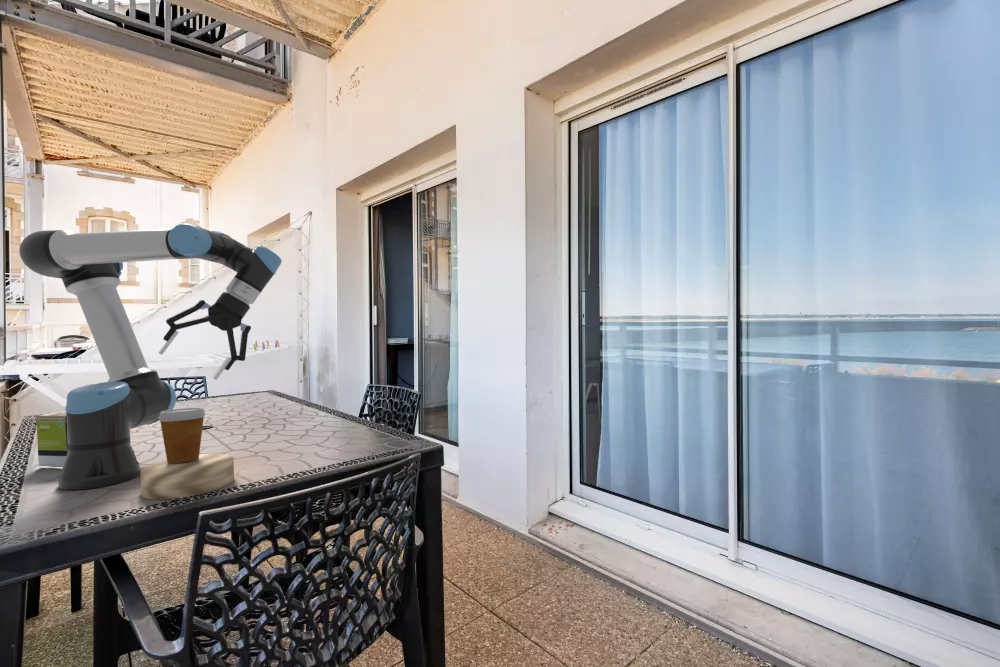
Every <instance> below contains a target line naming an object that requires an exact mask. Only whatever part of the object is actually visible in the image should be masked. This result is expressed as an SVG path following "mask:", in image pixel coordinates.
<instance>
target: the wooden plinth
mask: <svg viewBox="0 0 1000 667" xmlns="http://www.w3.org/2000/svg"><path fill="white" fill-rule="evenodd" d="M234 463H235V458H234V456H233V455H231V454H225V453H204V454H202V453H201V454H199V458H198V459H195V460H192V461H187V462H180V463H168V462H167V459H166V460H162V461H158V462H156V463H153V464H150V465H148V466H145V467H144V468H142V469H140V474H139V475H140V495H141V497H142V498H143V497H144V498H143V499H146V500H150V499H151V500H152V501H158V500H157V499H171V500H176V499H175V498H180V499H182V498H181V497H187V498H191V497H190V496H192V497H195V496H194V495H197V496H200V495H199V494H201V495H204V493H205V494H209V493H212V492H215V491H218V490H220V488H221V489H223V488H225V487H227V486H229V485H230V484H232V483H233V482H234V481H235V464H234ZM222 487H223V488H222ZM217 489H218V490H217ZM214 490H215V491H214ZM211 491H212V492H211ZM208 492H209V493H208Z"/></svg>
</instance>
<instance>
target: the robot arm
mask: <svg viewBox="0 0 1000 667" xmlns="http://www.w3.org/2000/svg"><path fill="white" fill-rule="evenodd" d="M18 250H19V252H18V253H19V257H20V259H21V261H22V263H23V264H24V265H25V266H26V267H27V268H28V269H29V270H31V271H32V272H34V273H36V274H39V275H41V276H45V277H47V278H55V279H60V280H62V283H63V285H64V288H65V290H66V292H67V293H69V294H72V295H74V296H76V298H77V301H78V302H79V305H80V308H81V310H82V312H83V315H84V318H85V321H86V323H87V325H88V327H89V330H90V333H91V335H92V337H93V340H94V342H95V345H96V347H97V350H98V352H99V355H100V358H101V360H102V363H103V364H104V367H105V369H106V372H107V374H108V375H107V376H108V378H109V379H108V380H107V381H105V382H98V383H91V384H86V385H82V386H80V387H75V388H74V389H72V390H70V391H69V392H68V393H67V394H66V403H65V404H66V405H65V407H64V408H65V410H66V420H67V443H68V454H67V457H66V459H65V462H64V465H63V468H62V469H61V472H60V474H59V476H58V481H57V482H58V485H57V486H58V488H59V489H60V490H65V491H66V490H69V491H76V490H77V491H78V490H87V489H94V488H100V487H101V488H102V487H106V486H111V485H115V484H119V483H122V482H123V483H124V482H125V481H130V480H131V479H134V478H136V477H137V476H139V475H141V474H140V472H141V466H140V462H139V461H138V460H137V456H136V454H135V450H134V449H133V447H132V443H131V430H132V429H135V428H138V427H143V426H146V425H152V424H155V423H157V422H158V421H159V419H158V417H159V416H160V412H162V411H167V410H174V409H175V406H176V403H177V395H176V391H175V388H174V387H173V385H171V384H170V383H168V382H167V381H165V380H162V379H161V378H160V376H159V374H158V371H157V369H153V368H151V367H149V366H148V365H147V362H146V358H145V357H144V355H143V352H142V349H141V347H140V344H139V342H138V339H137V337H136V333H135V332H134V328H133V327H132V324H131V322H130V320H129V316H128V315H127V312H126V309H125V307H124V304H123V301H122V299H121V297H120V295H119V292H118V290H117V288H118V286H119V285H120V283H121V279H120V277H121V275H122V271H123V269H124V263H136V262H149V261H150V262H151V261H166V260H170V261H171V260H187V259H189V260H191V259H200V260H203V261H208V262H211V263H216V264H221V265H222V266H224V267H227V268H228V269H230V270H232V271H234V272H236V274H235V275H234V276H233V278H232V279H231V280H230V282H228V285H227V286H226V287H225V290H226V291H223V292H222V293H221V294H220V296H218V297H217V299H216V301H215V302H214V303H213V304H212V305H210V304H209V303H207V302H206V301H205V299H200V300H199V301H197V303H196V304H195V305H192V306H191V307H189V308H187V309H185V310H182V311H181V312H179V313H177V314H174V315H173V316H171V317H169V318H166V320H165V323H166V324H167V325H168V326H169V329H168V331H167V332H166V334H164V336H163V340H164V341H166V342H165V343H164V345H163V346H162V347H161V349H160V350H159V351H158V354H159V355H161V356H162V355H163V354H164V353H165V352H166V351H167V349H168V347H170V345H171V344H172V343H173V341H174V340H175V338H176V337H177V336H178V335H179V333H180V332H179V331H178V330H181V329H184V328H189V327H192V326H196V325H200V324H203V323H207V322H209V324H210V325H211V326H213V327H216V328H218V329H219V330H221V331H224V332H226V334H227V339H228V340H227V342H228V347H229V352H230V356H228V355H227V356H226V358H225V359H224V360H223V361H222V363H221V365H220V366H219V367H218V369H217V371H216V372H215V373H214V374H213V376H212V378H213V380H215V381H217V380H218V379H219V378H220V377H221V375H222V373H223V372H224V370H226V371H229V370H230V369H231V368H232V366H233V365H234V363H235V362H237V361H240V362H241V361H242V362H244V361H246V355H247V354H246V353H247V345H248V337H249V333H250V331H251V329H252V327H251V325H249V324H245V323H243V322H242V321H243V319H244V317H245V316H246V314H248V311H249V310H250V309H251V306H250V305H253V304H254V303H255V302H256V300H257V298H259V296H260V294H261V293H262V291H263V290H264V289H265V288H266V286H267V285H268V283H269V282H270V281H271V279H272V278H273V276H274V275H276V272H277V271H278V270H279V268H280V266H281V265H282V258H281V257H280V256H279V255H278V254H276V253H275V252H274V251H272V250H271V249H269V248H267V247H265V246H263V245H260V244H259V245H257V246H256V247H255V248H254V249H252V248H250V247H249V246H246V245H245V244H244V243H241V242H239V241H238V240H236V239H234V238H232V237H231V236H230V235H228V234H225V233H223V232H221V231H219V230H215V229H214V230H212V231H211V230H208V229H206V228H203V227H201V226H199V225H195V224H190V223H179V224H177V225H175V226H174V227H172V228H157V229H139V230H138V229H136V230H134V229H133V230H120V231H119V230H117V231H102V232H101V231H98V232H82V233H81V232H79V233H78V232H77V233H74V232H73V231H71V230H68V229H67V230H66V229H58V230H57V229H56V230H54V229H53V230H38V231H35V232H32V233H30V234H28V235H26V236H25V237H24V238H23V240H22V241H21V243H20V245H19V249H18ZM205 309H207V312H208V314H207V315H206V316H202V317H198V318H193V319H191V320H186V321H182V322H179V323H175V322H177V321H179V320H181V319H183V318H185V317H187V316H189V315H191V314H194V313H195V312H197V311H199V310H205ZM238 327H240V331H241V335H240V344H239V346H240V347H239V354H237V353H238V352H237V346H236V341H235V335H234V329H236V328H238ZM65 410H64V411H65ZM159 422H160V421H159Z"/></svg>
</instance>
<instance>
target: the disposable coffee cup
mask: <svg viewBox="0 0 1000 667" xmlns="http://www.w3.org/2000/svg"><path fill="white" fill-rule="evenodd" d="M205 415H207V413H206V412H205V410H204V407H188V408H187V407H185V408H173V410H167V411H162V412H160V416H159V417H158V419H159V422H160V428H161V434H162V438H163V439H162V440H163V444H164V451H165V456H166V460H167V462H168V463H180V462H187V461H192V460H195V459H198V458H199V455H200V450H201V444H202V435H203V433H202V432H203V427H204V426H203V425H204V418H205Z"/></svg>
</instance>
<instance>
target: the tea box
mask: <svg viewBox="0 0 1000 667" xmlns="http://www.w3.org/2000/svg"><path fill="white" fill-rule="evenodd" d="M35 421H36V424H35V425H36V436H37V437H36V438H37V439H36V440H37V442H36V443H37V456H38V457H37V458H38V459H37V460H38V467H39V466H49V467H50V466H51V467H63V465H64V462H65V459H66V457H67V454H68V443H67V420H66V410H62V411H53V412H50V413H44V414H38V415H36V416H35Z"/></svg>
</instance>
